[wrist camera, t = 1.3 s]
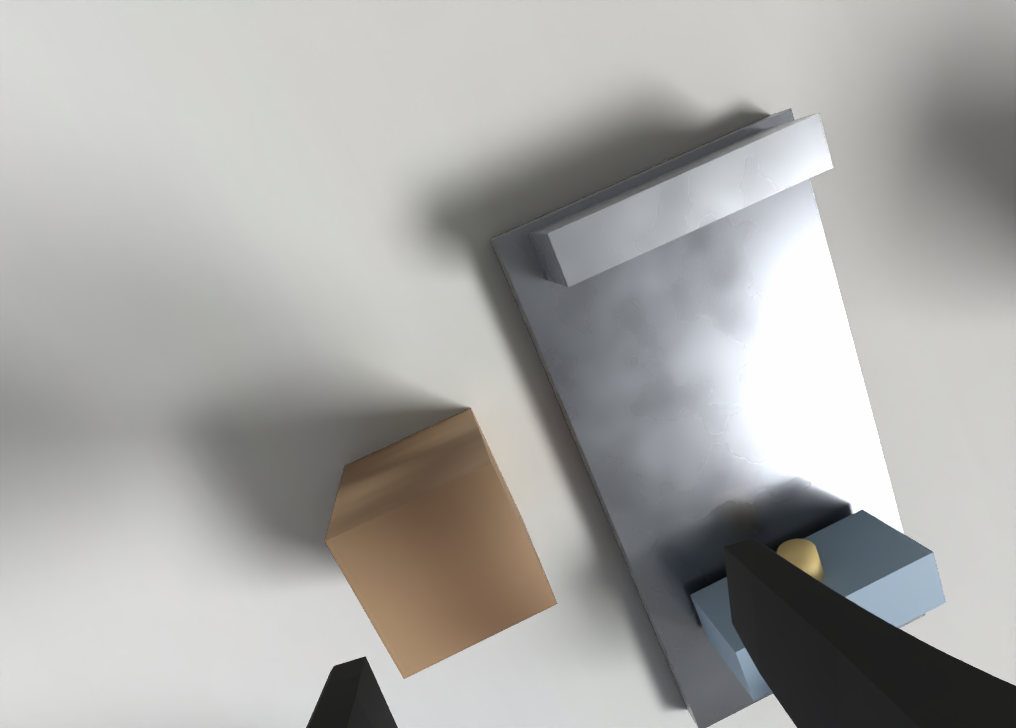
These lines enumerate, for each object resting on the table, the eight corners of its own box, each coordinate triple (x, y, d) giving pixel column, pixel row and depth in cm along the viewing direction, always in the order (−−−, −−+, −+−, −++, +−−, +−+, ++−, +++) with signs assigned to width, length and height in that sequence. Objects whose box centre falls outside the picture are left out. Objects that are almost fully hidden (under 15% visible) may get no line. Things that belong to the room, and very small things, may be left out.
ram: (894, 620, 23) (1074, 764, 17) (732, 703, 22) (857, 882, 16) (855, 486, 21) (1040, 589, 15) (681, 572, 21) (798, 715, 15)
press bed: (904, 599, 24) (985, 658, 21) (688, 710, 24) (734, 789, 20) (771, 114, 19) (849, 88, 16) (489, 239, 19) (508, 240, 15)
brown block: (404, 574, 21) (404, 679, 16) (344, 465, 19) (324, 541, 15) (522, 518, 21) (557, 603, 16) (470, 407, 20) (491, 463, 15)
